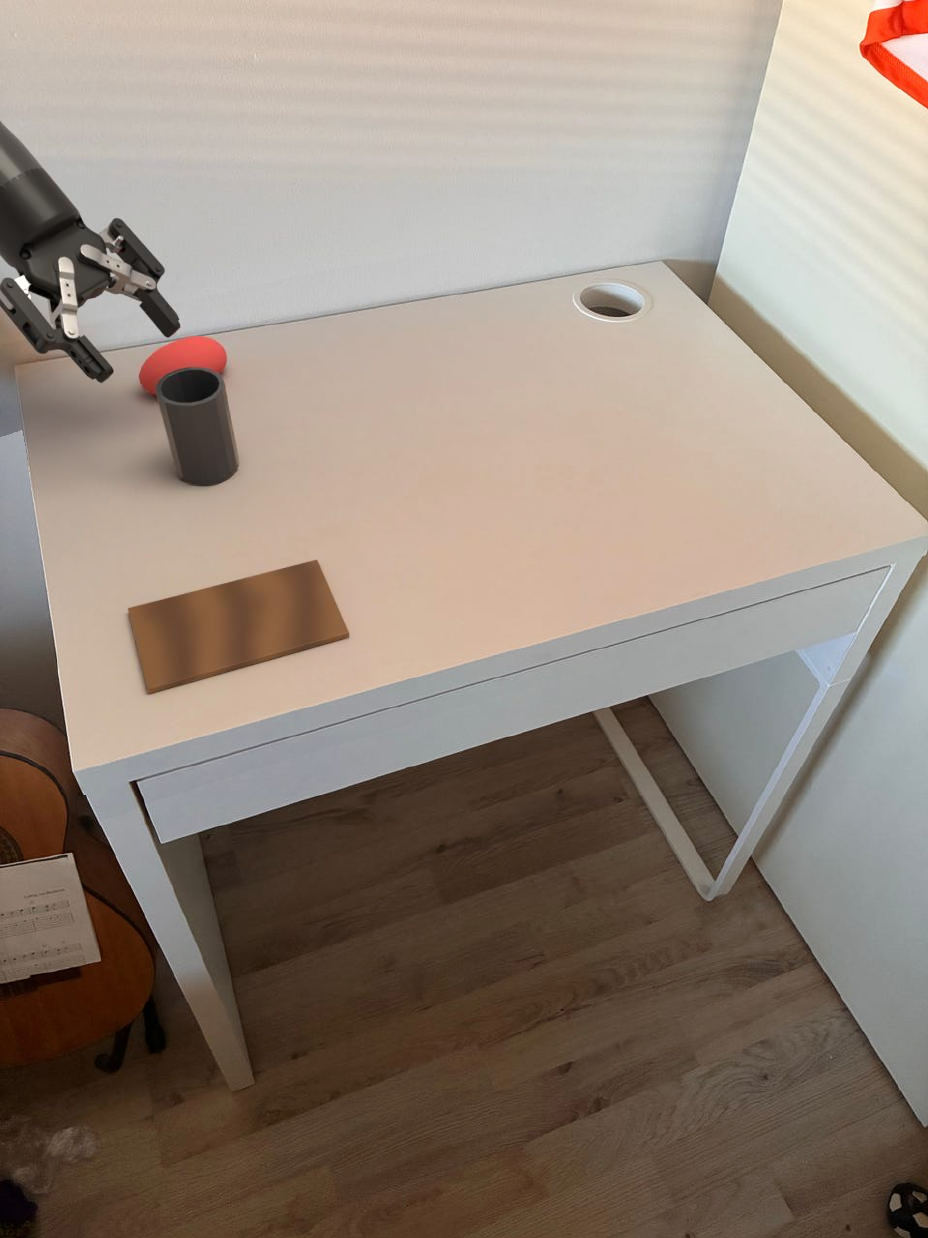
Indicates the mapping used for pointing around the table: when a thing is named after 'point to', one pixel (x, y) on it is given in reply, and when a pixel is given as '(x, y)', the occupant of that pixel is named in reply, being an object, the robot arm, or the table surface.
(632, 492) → the table surface
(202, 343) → the stress ball
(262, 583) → the plate
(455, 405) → the table surface
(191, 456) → the open gray tube
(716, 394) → the table surface
